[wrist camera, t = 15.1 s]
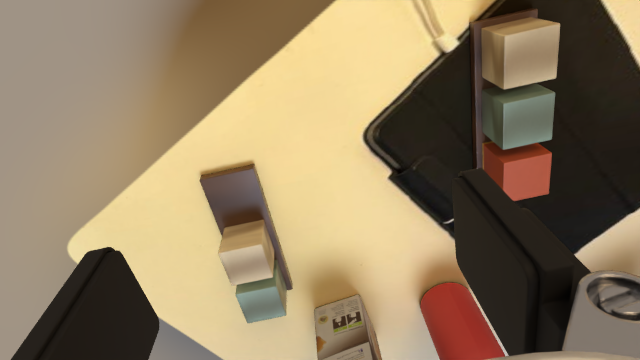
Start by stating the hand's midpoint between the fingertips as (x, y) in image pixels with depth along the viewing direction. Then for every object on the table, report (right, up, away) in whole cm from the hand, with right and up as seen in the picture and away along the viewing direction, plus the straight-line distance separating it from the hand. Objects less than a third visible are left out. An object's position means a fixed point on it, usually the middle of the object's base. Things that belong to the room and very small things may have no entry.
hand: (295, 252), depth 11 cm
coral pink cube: (+20, +4, +30) cm, 36 cm away
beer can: (+17, -13, +41) cm, 46 cm away
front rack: (+19, +10, +29) cm, 35 cm away
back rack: (-7, -4, +34) cm, 35 cm away
